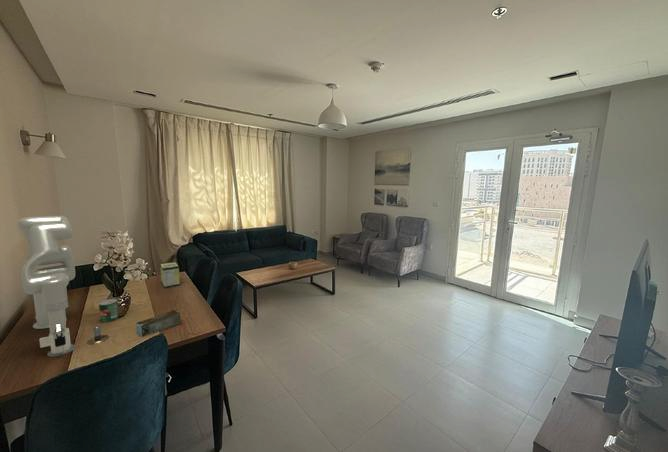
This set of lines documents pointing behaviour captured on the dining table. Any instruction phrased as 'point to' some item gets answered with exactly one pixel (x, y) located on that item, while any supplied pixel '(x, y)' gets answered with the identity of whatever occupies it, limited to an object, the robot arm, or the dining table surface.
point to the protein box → (170, 275)
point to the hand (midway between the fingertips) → (60, 341)
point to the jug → (51, 342)
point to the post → (97, 336)
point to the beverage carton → (158, 323)
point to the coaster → (62, 352)
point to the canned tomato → (108, 310)
